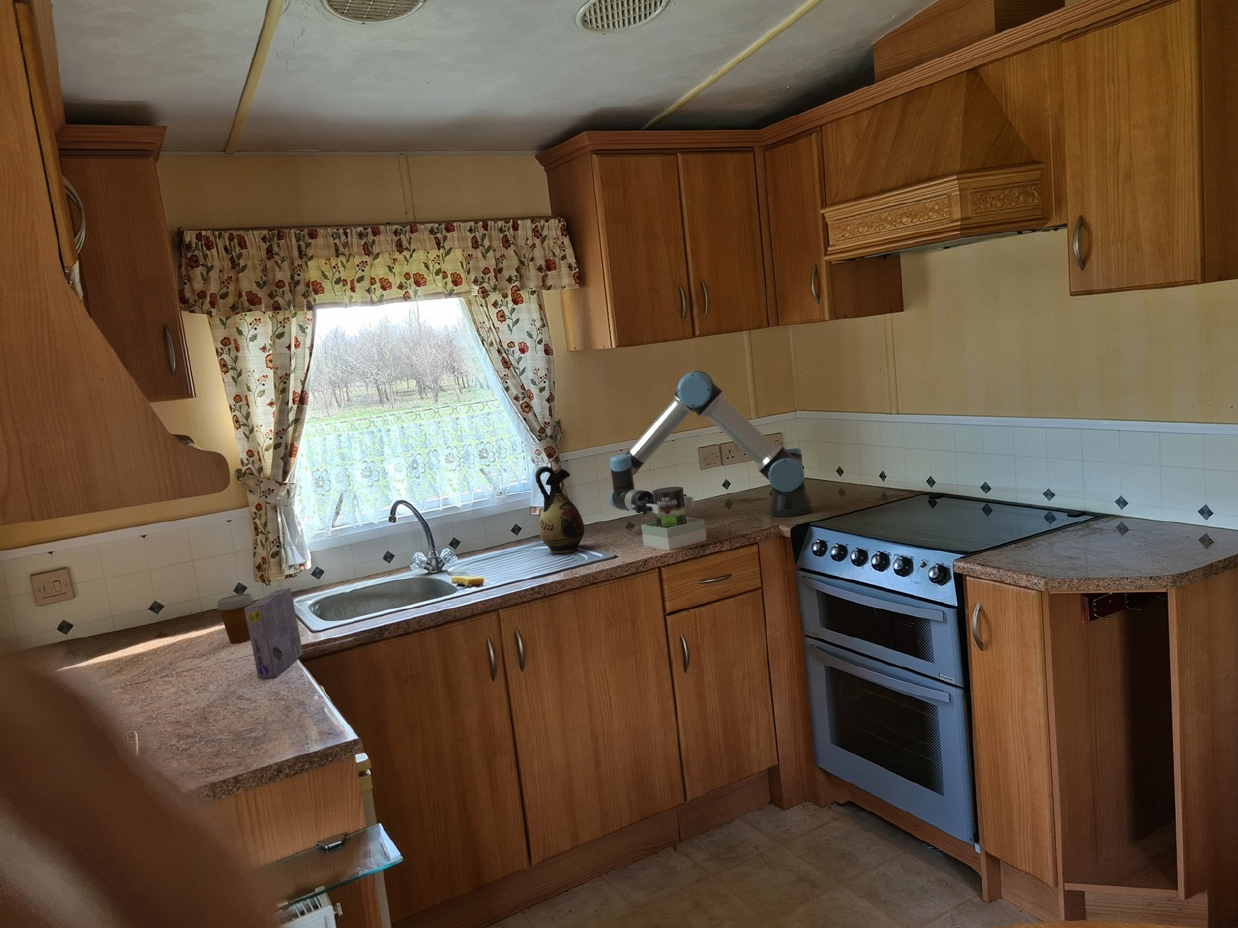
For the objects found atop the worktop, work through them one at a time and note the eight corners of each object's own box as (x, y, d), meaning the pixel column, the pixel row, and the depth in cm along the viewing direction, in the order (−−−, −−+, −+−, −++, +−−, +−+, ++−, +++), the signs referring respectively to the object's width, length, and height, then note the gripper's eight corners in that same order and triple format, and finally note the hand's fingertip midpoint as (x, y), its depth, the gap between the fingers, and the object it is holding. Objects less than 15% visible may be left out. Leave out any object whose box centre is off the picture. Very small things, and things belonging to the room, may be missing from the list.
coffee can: (685, 533, 308) (680, 490, 307) (654, 535, 311) (649, 493, 309) (690, 526, 318) (685, 485, 317) (660, 529, 321) (655, 488, 319)
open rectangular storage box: (679, 535, 325) (677, 516, 324) (706, 540, 313) (704, 519, 312) (643, 545, 318) (641, 525, 317) (669, 550, 305) (666, 529, 304)
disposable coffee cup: (231, 647, 256) (223, 604, 255) (218, 642, 263) (210, 600, 262) (265, 636, 262) (258, 594, 261) (252, 632, 269) (244, 591, 268)
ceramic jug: (576, 543, 336) (564, 460, 333) (593, 549, 322) (582, 462, 319) (531, 553, 329) (519, 468, 326) (547, 559, 315) (534, 471, 312)
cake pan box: (287, 655, 241) (275, 587, 239) (306, 652, 241) (294, 585, 239) (255, 681, 222) (242, 608, 220) (276, 678, 222) (263, 605, 220)
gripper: (670, 504, 336) (707, 508, 318) (611, 518, 323) (645, 524, 305) (668, 483, 335) (704, 486, 317) (608, 497, 322) (642, 501, 304)
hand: (675, 505), depth 311 cm, fingers open, 13 cm apart
